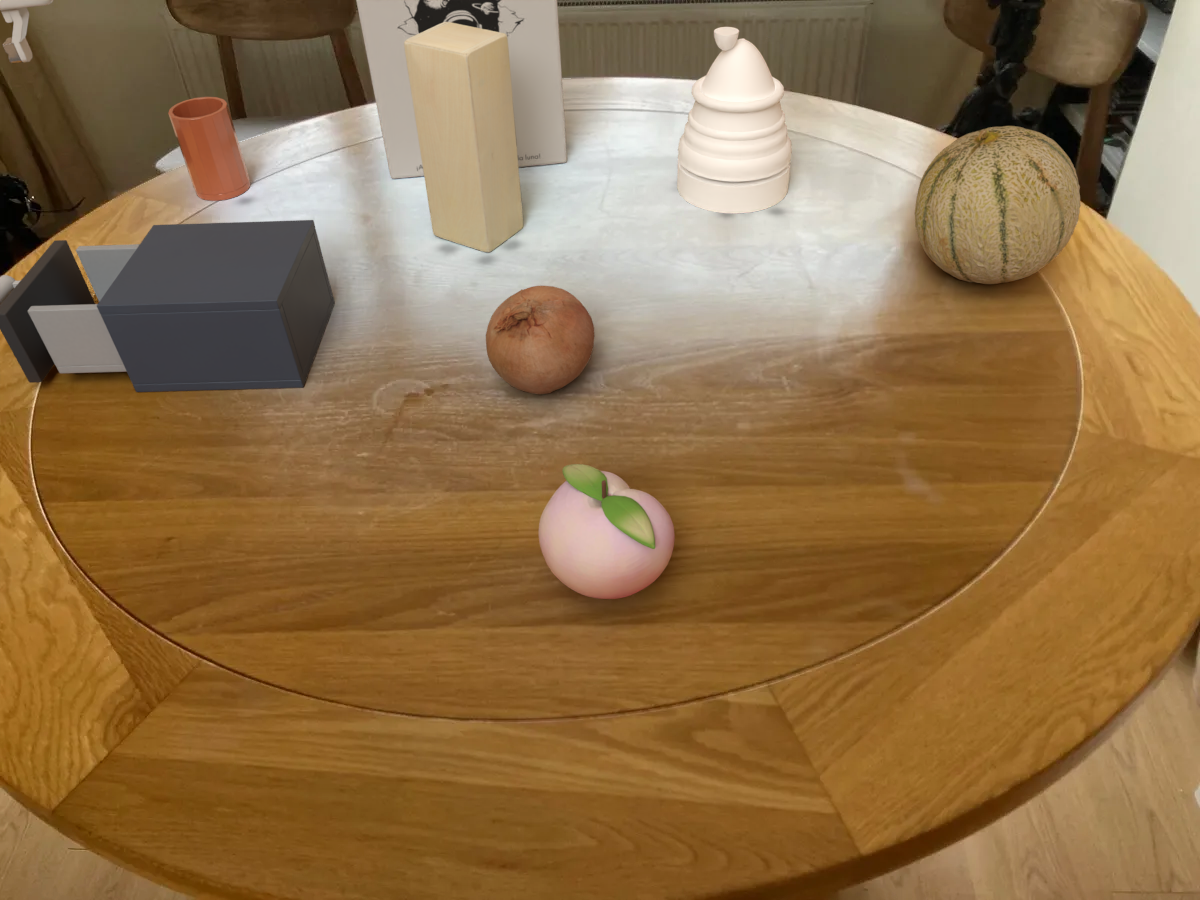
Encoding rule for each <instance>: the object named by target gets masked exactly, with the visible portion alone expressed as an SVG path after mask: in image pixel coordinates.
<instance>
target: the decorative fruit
mask: <svg viewBox="0 0 1200 900" xmlns="http://www.w3.org/2000/svg"><path fill="white" fill-rule="evenodd" d="M561 471H562V475H563V477H564V479H565V481H564V482H563V483H562V484H561V485H560V486H559V487H558V488H557V489H556V491H555V492H554V493H553V495H551V497H550V499H549V500H548V501H547V503H546V505H545V506H544V509H543V510H542V513H541V515H540V518H539V524H538V542H539V547H540V551H541V553H542V556H543V558H544V561H545V563H546V565H547V567H548V569H549V570H550V571H551V573H552V574H553V575H554V576H555V578H557V579H558V581H560V582H561V584H563V585H565V586H566V587H567V588H569V589H570V590H572V591H574V592H576V593H578V594H579V595H582V596H585V597H588V598H593V599H599V600H600V599H601V600H617V599H622V598H627V597H630V596H632V595H634V594H637V593H639V592H640V591H642V590H644V589H646V588H648V587H649V586H650V585H651V584H653V583H654V582H655V581H656V580H657V579H658V578H659V577H660V576H661V575H662V574H663V572H664V571H665V569H666V568H667V566H668V565H669V562H670V560H671V557H672V555H673V551H674V547H675V537H676V535H675V526H674V523H673V521H672V518H671V515H670V514H669V512H668V510H667V509H666V508H665V507H664V506H663V505H662V503H661V502H660V501H659V500H658V499H657V498H655V497H654V496H653V495H651V494H649V493H648V492H646V491H644V490H639V489H635V488H630V486H629V485H628V483H627V482H626V481H625V480H624V479H623V478H621V477H620V476H619V475H617V474H615V473H614V472H610V471H607V470H606V471H605V470H600V469H598V468H596V467H594V466H591V465H588V464H583V463H573V464H567V465H564V466H563V467H562V470H561Z"/></svg>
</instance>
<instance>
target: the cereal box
mask: <svg viewBox="0 0 1200 900" xmlns="http://www.w3.org/2000/svg"><path fill="white" fill-rule="evenodd" d="M355 2H356V6H357V11H358V17H359V22H360V27H361V32H362V37H363V43H364V48H365V54H366V58H367V63H368V69H369V73H370V74H369V75H370V79H371V84H372V88H373V94H374V99H375V104H376V109H377V115H378V120H379V125H380V130H381V135H382V140H383V145H384V150H385V155H386V161H387V166H388V171H389V177H390V179H392V180H393V179H394V180H395V179H403V178H404V179H407V178H416V177H417V178H419V177H424V171H423V165H422V159H421V152H420V146H419V139H418V132H417V126H416V119H415V113H414V106H413V100H412V94H411V87H410V81H409V74H408V68H407V62H406V55H405V49H404V42H405V40H407V39H409V38H411V37H413V36H415V35H417V34H419V33H421V32H424V31H426V30H428V29H430V28H432V27H434V26H436V25H438V24H441V23H443V22H451V23H456V24H461V25H466V26H471V27H476V28H481V29H486V30H490V31H495V32H500V33H504V34H506V35H507V39H508V48H509V61H510V73H511V85H512V98H513V110H514V121H515V133H516V145H517V156H518V168H523V167H533V166H545V165H556V164H565V163H566V162H567V161H568V154H567V153H568V152H567V139H566V138H567V137H566V135H567V134H566V123H565V122H566V121H565V104H564V90H563V73H562V71H563V70H562V58H561V57H562V56H561V41H560V40H561V39H560V24H559V8H558V0H355Z"/></svg>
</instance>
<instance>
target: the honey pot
mask: <svg viewBox="0 0 1200 900" xmlns="http://www.w3.org/2000/svg"><path fill="white" fill-rule="evenodd" d="M739 34H740V30H739V29H738V28H737V27H733V26H721V27H717V28H715V29H714V30H713V38H714V42H715V44H716V46H717V47H718V48H719V49H720V50H721V51H720V52H719V54H717V56H716V58H715V59H714V60H713V62H712V64H711V65H710V67H709V69H708V71H707V73H706V75H704V76H702V77H700V78H699V79H697V80H696V81H695V82H694V83H693V84H692V86H691V92H690V93H691V95H692V98H693V99H694V103H693V106H692V108H691V109H690V111H689V112H688V115H687V121H686V123H685V125H684V130H683V134H681V136H680V138H679V140H678V141H679V142H678V147H677V151H678V152H677V153H678V155H677V178H676V181H677V182H676V189H677V192H678V194H679V197H681V198H682V199H683V201H685V202H686V203H688V204H690V205H692V206H694V207H696V208H698V209H702V210H704V211H708V212H712V213H713V212H714V213H720V214H737V215H738V214H748V213H750V214H751V213H755V212H759V211H763V210H767V209H769V208H771V207H773V206H777V205H778V204H779V203H780V202H781V201H783V200H785V197H786V195H788V191H789V182H790V171H791V161H792V149H793V148H792V140H791V138H790V137H789V134H788V125H787V124H786V114H785V112H784V110H783V108H782V105H781V100H782V99H783V97H784V95H785V87H784V85H783V84H782V82H781V81H780V80H779V79H777V78H775V77H774V76H772V73H771V70H770V68H769V66H768V64H767V62H766V60H765V58H764V56H763V55H762V53H761V51H760V50H759V49H758V48H757V47H756V45H755V44H753V42H751V41H749V40H747V39H746V38H739ZM738 38H739V39H738Z"/></svg>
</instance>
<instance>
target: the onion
mask: <svg viewBox="0 0 1200 900" xmlns="http://www.w3.org/2000/svg"><path fill="white" fill-rule="evenodd" d="M594 325H595V324H594V321H593V320H592V316H591V315H590V313H589V310H588V309H587V308H586V307H585V306H584V305H583V303H582V302H581V301H580V300H579V299H578V298H577V297H576V296H575V295H574V294H572V293H571V292H569V291H568V290H566V289H563V288H561V287H558V286H557V287H556V286H553V285H534V286H529V287H526V288H523V289H520V290H519V291H517V292H516V293H513V294H512V295H510V296H508V297H507V298H506V299H505V300H504V301H503V302H502V303H501V304H500V305H499V306H497V308H496V309H495V310H494V312H493V313H492V315H491V317H490V319H489V322H488V324H487V326H486V327H487V328H486V331H485V332H486V333H485V347H486V348H485V349H486V355H487V358H488V361H489V364H491V366H492V368H493V369H494V371H495V372H496V374H497V375H498V376H499V377H500V378H501V379H502V380H503V381H504V382H506V383H507V384H508V385H510V386H511V387H513V388H514V389H517V390H518V391H523V392H525V393H529V394H533V395H546V394H547V395H548V394H552V393H553V392H555V391H557V390H559V389H563V388H564V387H565V386H567V385H568V384H570V383H572V382H573V381H574V380H575V379H577V377H579V376H580V375H581V374H582V372H583V371H584V369H585V368H586V366H587V365H588V363H589V361H590V359H591V356H592V353H593V350H594V346H595V345H594V344H595V336H596V335H595V326H594Z"/></svg>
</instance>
